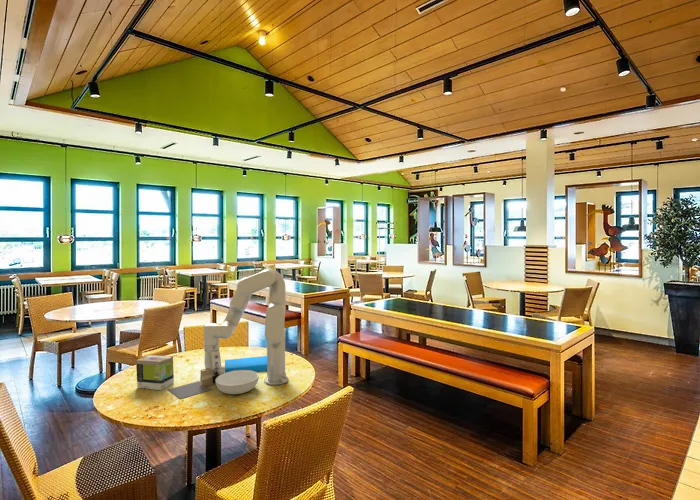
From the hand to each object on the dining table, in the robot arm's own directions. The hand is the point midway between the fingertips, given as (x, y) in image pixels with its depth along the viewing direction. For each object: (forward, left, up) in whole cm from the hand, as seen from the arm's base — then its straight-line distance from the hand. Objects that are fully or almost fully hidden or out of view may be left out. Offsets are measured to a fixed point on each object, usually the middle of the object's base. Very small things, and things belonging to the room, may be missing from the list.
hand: (212, 380), depth 212 cm
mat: (0, +12, -2) cm, 12 cm away
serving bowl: (-17, -5, -2) cm, 18 cm away
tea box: (+19, +22, -2) cm, 29 cm away
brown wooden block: (0, 0, -1) cm, 1 cm away
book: (+10, -26, -2) cm, 27 cm away
